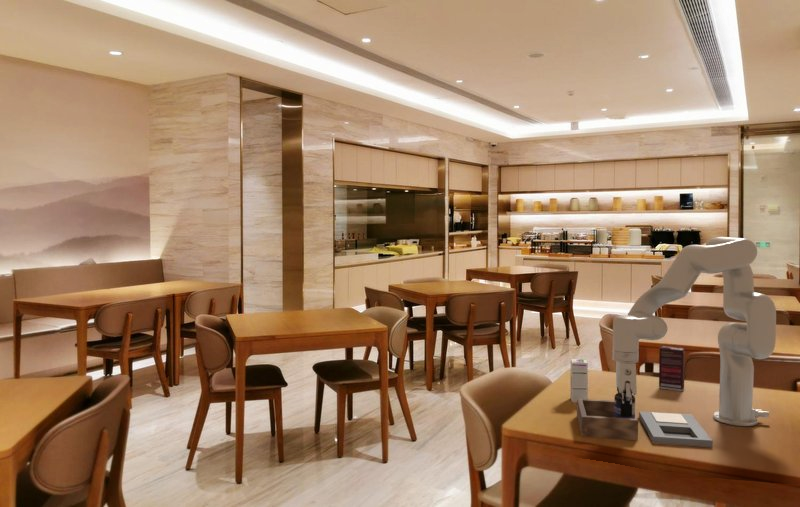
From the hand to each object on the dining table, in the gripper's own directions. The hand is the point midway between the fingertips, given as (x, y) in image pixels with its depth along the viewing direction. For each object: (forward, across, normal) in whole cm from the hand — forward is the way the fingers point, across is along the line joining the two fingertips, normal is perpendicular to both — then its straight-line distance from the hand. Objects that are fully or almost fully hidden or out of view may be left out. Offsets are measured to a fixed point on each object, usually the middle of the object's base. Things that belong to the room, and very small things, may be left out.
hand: (624, 412), depth 192 cm
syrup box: (+5, +28, +12) cm, 31 cm away
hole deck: (+5, +1, -14) cm, 15 cm away
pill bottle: (+3, 0, 0) cm, 3 cm away
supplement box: (+6, +51, -24) cm, 57 cm away
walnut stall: (+5, 0, +6) cm, 8 cm away
